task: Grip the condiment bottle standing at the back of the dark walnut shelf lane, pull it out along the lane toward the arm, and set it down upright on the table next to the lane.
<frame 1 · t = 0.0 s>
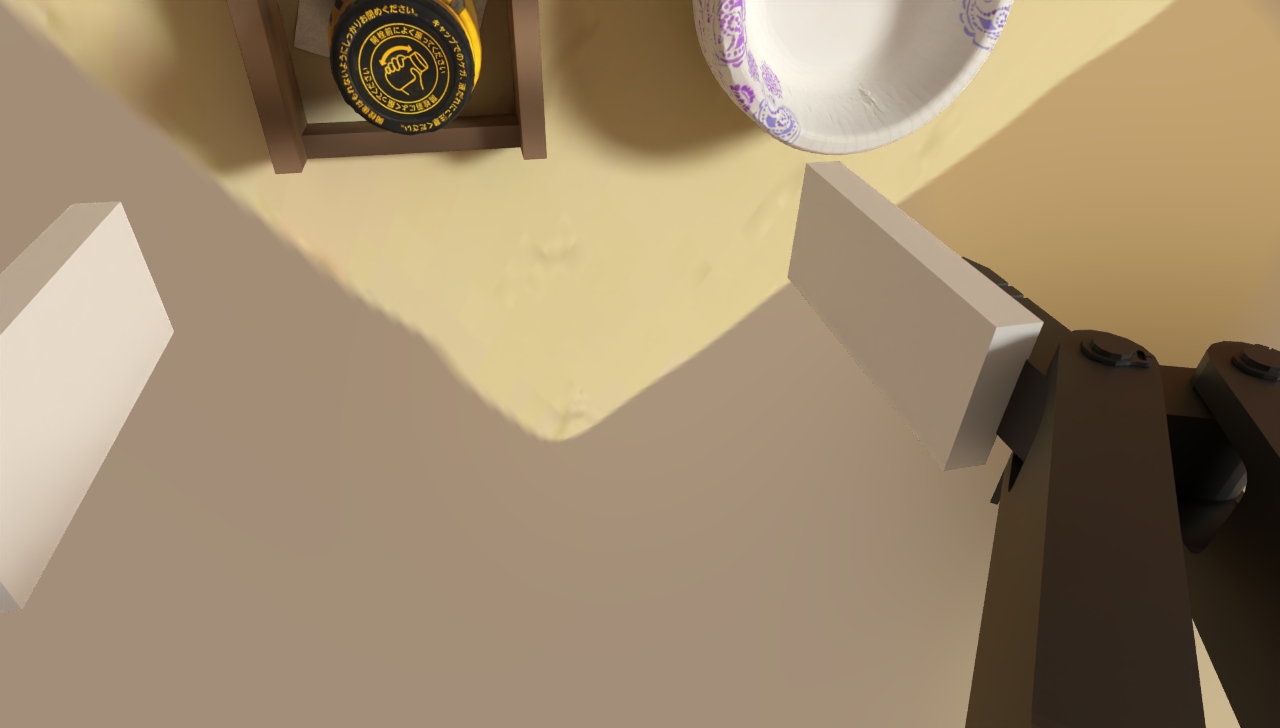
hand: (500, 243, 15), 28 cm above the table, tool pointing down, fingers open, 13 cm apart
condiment: (395, 0, 36), resting in walnut shelf lane
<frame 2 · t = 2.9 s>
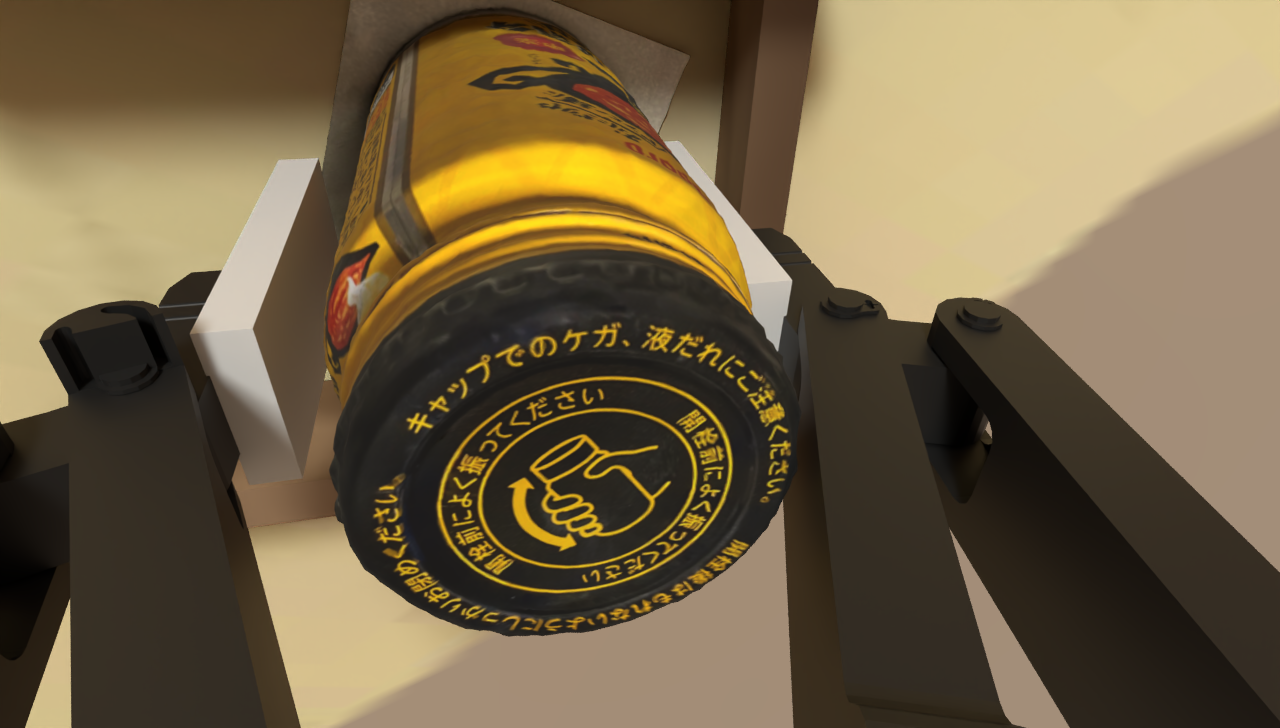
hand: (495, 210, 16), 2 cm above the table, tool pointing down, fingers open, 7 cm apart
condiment: (488, 172, 18), resting in walnut shelf lane, touching gripper
walnut shelf lane: (404, 181, 17), on the table
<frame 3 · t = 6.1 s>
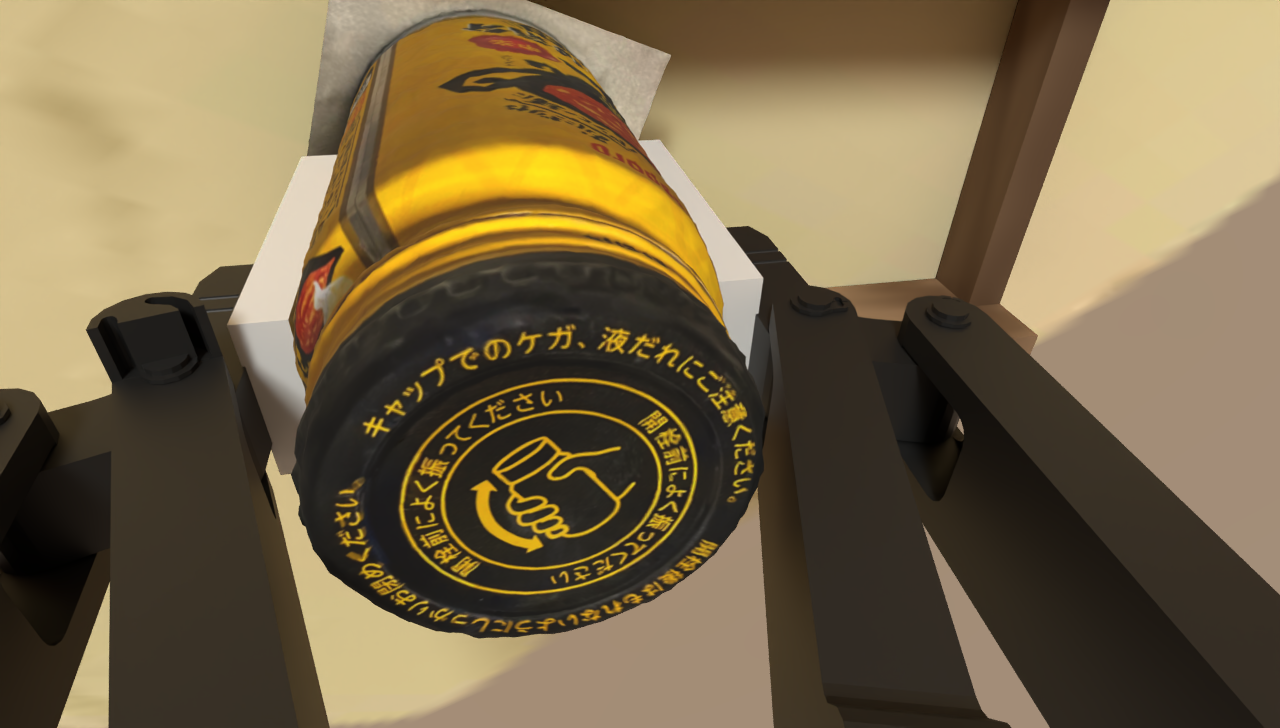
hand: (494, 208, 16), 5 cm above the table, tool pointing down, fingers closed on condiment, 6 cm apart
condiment: (471, 174, 18), point 2 cm above the table, touching gripper
walnut shelf lane: (745, 132, 21), on the table
when the fingers open (3 cm above the table, at t = 8.9 s): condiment drops 1 cm, on the table.
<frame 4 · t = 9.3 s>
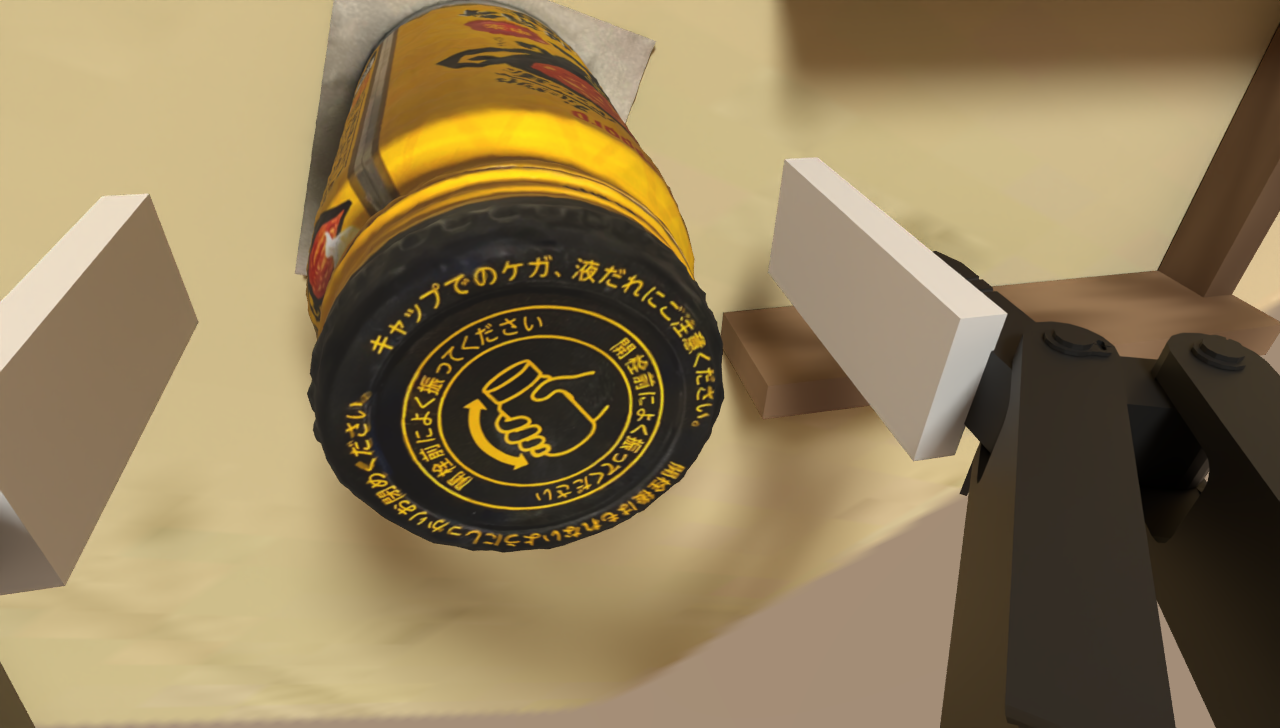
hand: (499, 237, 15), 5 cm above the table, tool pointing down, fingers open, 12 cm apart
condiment: (468, 154, 19), on the table
walnut shelf lane: (1023, 129, 22), on the table
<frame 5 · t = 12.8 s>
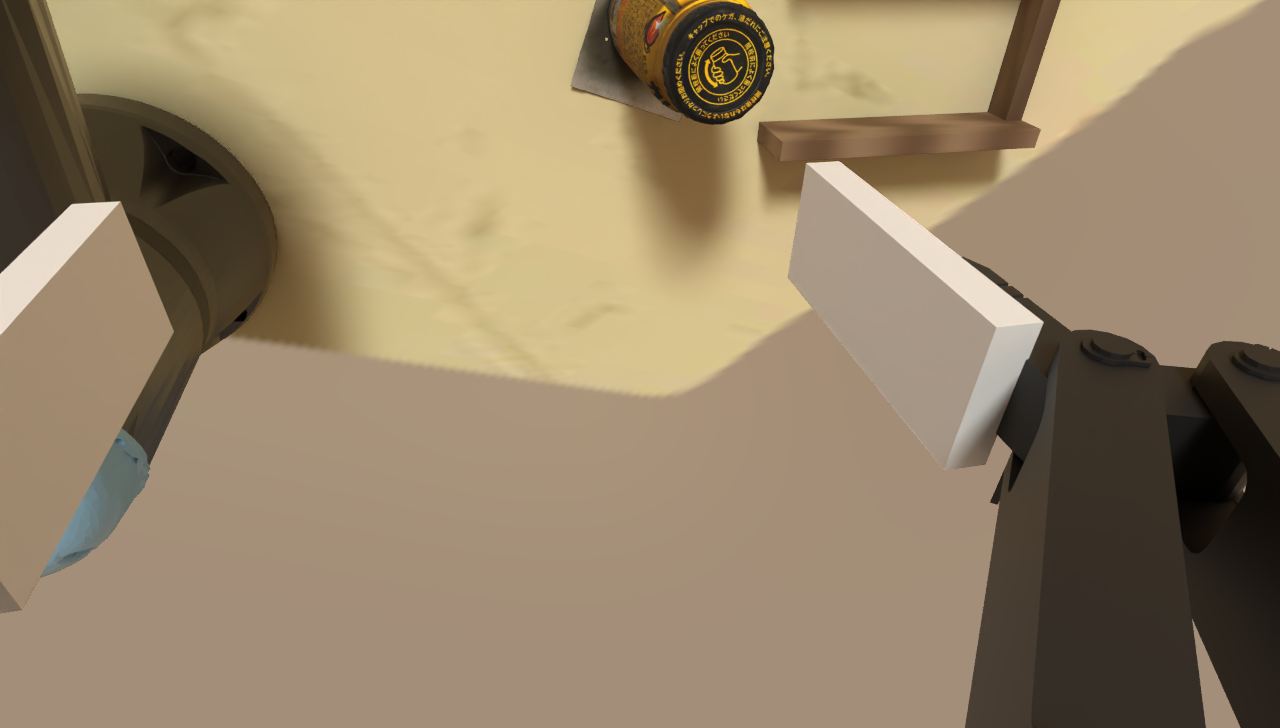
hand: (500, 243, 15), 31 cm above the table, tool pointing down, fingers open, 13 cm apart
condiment: (649, 32, 42), on the table
walnut shelf lane: (905, 28, 45), on the table
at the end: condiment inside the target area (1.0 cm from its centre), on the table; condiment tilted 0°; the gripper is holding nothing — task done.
